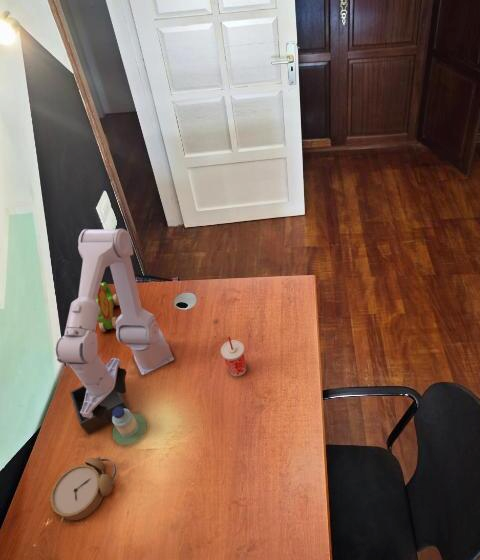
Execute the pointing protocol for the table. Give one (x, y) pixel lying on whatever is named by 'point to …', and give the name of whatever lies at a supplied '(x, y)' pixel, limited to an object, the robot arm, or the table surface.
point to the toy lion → (106, 307)
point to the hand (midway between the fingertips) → (114, 405)
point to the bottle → (124, 422)
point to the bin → (109, 401)
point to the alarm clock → (81, 489)
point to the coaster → (135, 437)
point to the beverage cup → (234, 357)
